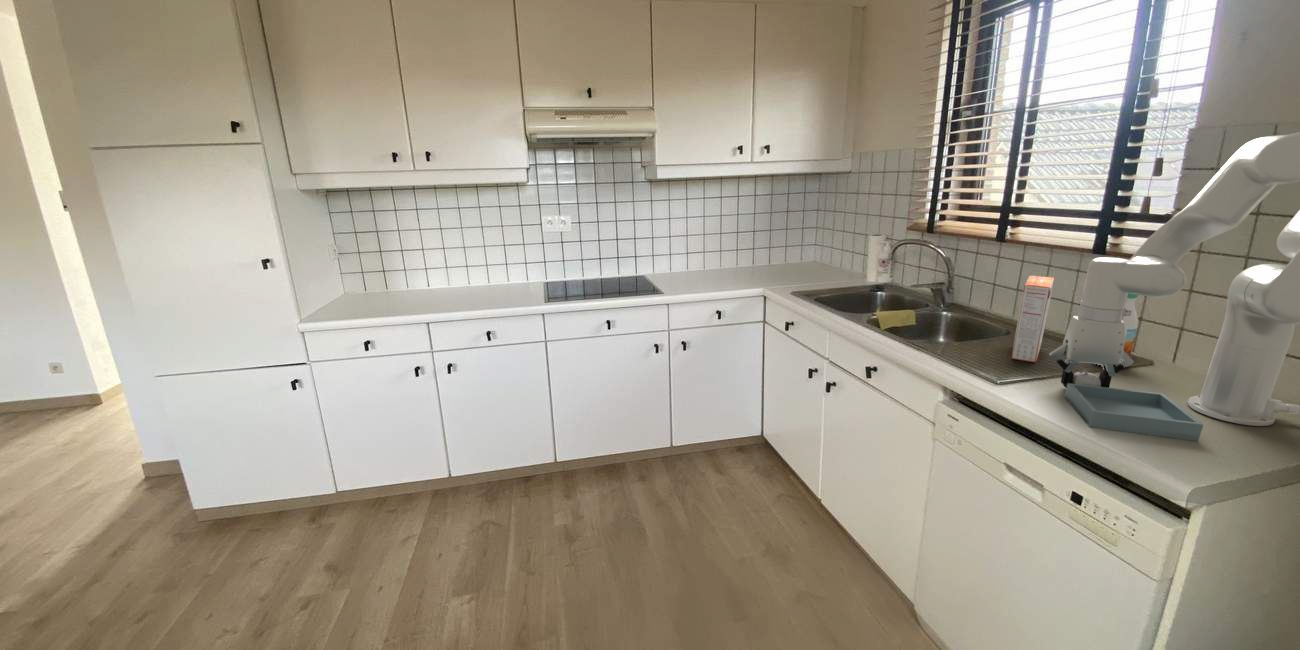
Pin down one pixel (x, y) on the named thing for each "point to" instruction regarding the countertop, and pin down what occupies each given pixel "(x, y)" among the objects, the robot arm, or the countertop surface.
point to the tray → (1132, 411)
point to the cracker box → (1032, 318)
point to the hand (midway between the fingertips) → (1083, 387)
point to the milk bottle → (1130, 324)
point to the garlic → (1086, 379)
